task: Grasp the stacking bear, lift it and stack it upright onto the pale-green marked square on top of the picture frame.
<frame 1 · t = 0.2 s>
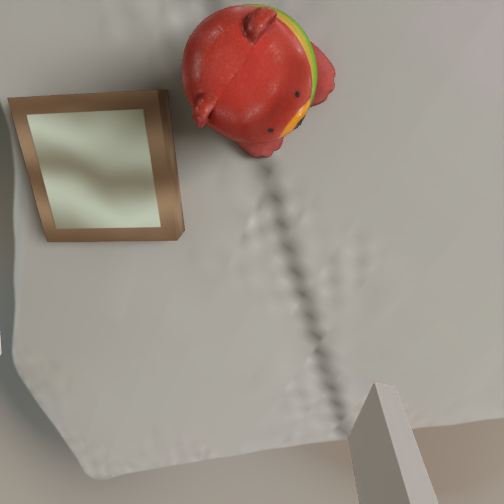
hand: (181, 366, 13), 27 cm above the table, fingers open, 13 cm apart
stacking bear: (263, 84, 35), on the table
picture frame: (110, 167, 39), on the table
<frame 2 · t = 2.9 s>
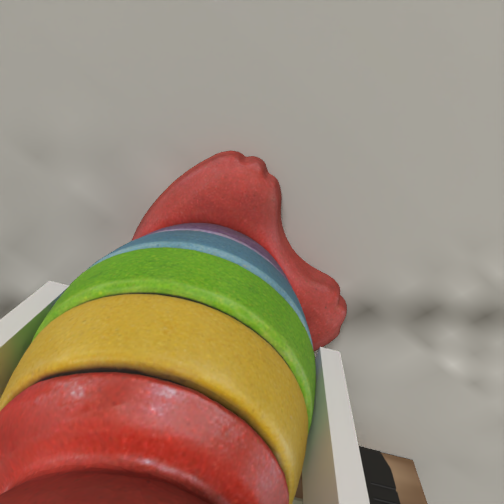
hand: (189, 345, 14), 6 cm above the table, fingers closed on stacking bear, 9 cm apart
stacking bear: (221, 277, 19), on the table, touching gripper
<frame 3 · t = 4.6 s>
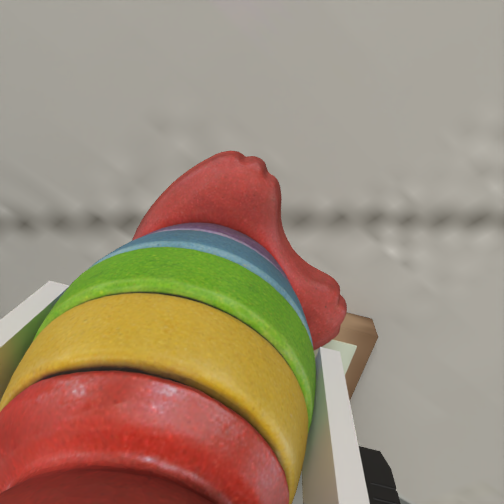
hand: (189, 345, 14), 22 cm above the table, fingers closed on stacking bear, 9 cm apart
stacking bear: (222, 276, 19), point 16 cm above the table, touching gripper
picture frame: (285, 356, 40), on the table
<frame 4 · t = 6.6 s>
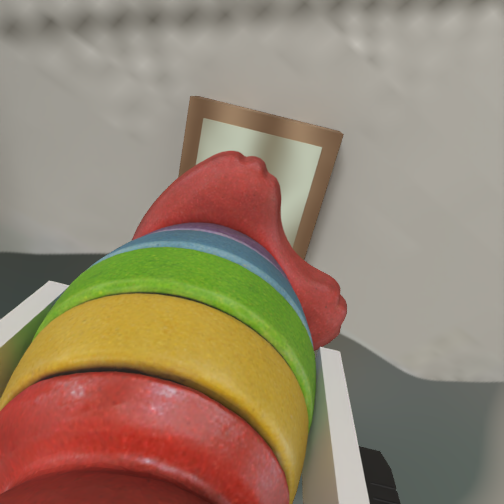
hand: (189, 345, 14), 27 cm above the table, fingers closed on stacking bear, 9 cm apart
stacking bear: (221, 276, 19), point 21 cm above the table, touching gripper
picture frame: (252, 183, 39), on the table
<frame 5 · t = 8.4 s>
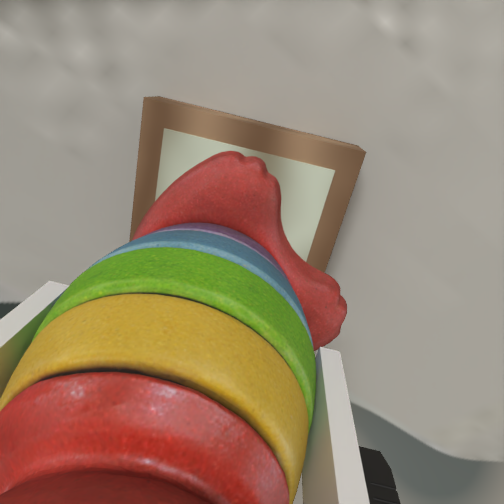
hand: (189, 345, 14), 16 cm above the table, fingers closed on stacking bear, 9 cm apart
stacking bear: (221, 277, 19), point 10 cm above the table, touching gripper
picture frame: (237, 215, 28), on the table
when the fingers open (10 cm above the table, at t = 10.0 s): stacking bear drops 2 cm, resting on picture frame.
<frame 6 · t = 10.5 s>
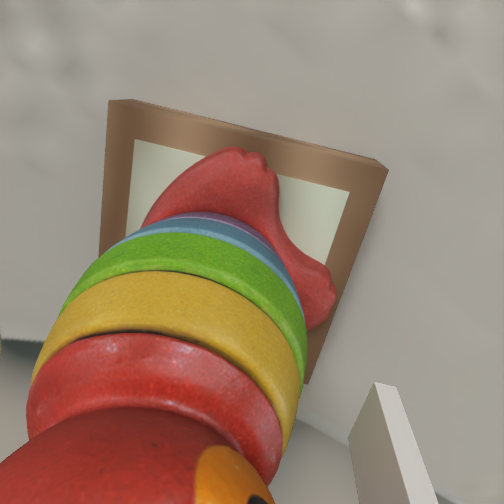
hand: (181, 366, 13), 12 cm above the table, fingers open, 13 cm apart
stacking bear: (222, 262, 21), point 3 cm above the table, touching picture frame
picture frame: (229, 242, 24), on the table
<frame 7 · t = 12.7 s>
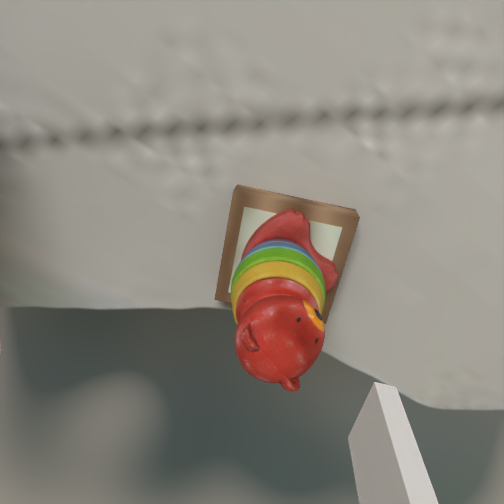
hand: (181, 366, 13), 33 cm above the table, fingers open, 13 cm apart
stacking bear: (282, 261, 44), point 3 cm above the table, touching picture frame
picture frame: (282, 251, 46), on the table
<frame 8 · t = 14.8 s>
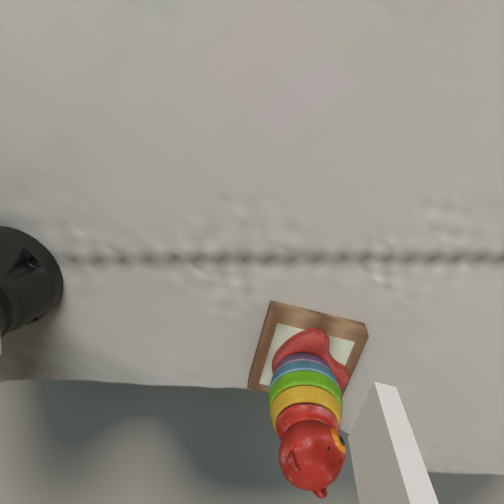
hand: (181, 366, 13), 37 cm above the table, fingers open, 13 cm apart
stacking bear: (305, 363, 54), point 3 cm above the table, touching picture frame
picture frame: (304, 350, 57), on the table
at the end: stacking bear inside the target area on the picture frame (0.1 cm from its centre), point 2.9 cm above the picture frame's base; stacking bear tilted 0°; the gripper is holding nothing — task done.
